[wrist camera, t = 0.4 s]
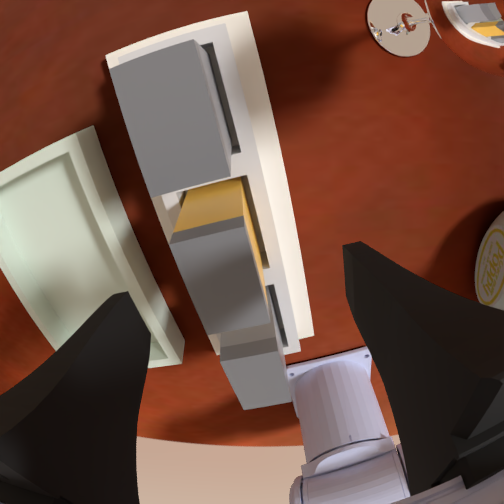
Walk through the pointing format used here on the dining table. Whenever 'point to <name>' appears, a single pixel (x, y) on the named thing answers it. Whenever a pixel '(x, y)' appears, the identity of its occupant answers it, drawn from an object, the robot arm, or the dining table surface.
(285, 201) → the fuse holder
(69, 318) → the tray
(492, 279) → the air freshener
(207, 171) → the block
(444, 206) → the dining table surface
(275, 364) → the block
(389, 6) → the wineglass
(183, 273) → the block
